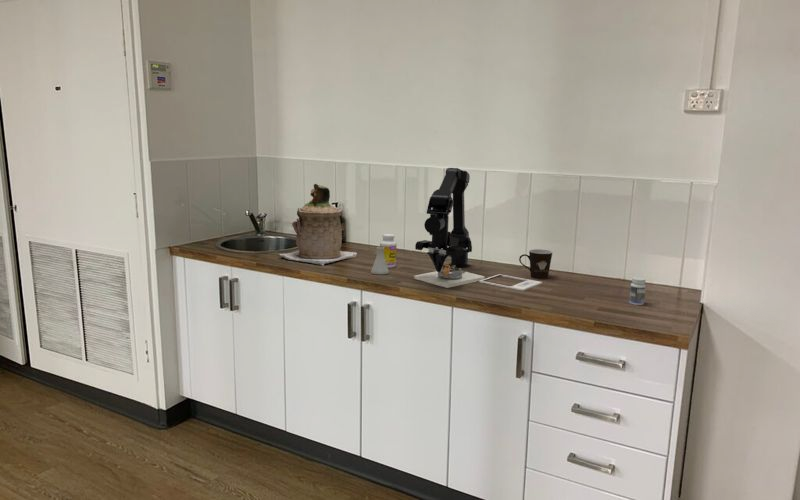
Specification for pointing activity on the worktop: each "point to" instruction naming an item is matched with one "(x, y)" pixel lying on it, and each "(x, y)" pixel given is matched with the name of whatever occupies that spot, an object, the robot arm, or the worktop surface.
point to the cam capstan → (450, 272)
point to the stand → (447, 283)
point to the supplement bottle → (389, 250)
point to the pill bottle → (637, 291)
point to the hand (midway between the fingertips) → (438, 271)
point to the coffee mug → (538, 263)
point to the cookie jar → (318, 231)
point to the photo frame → (520, 286)
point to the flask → (380, 263)
